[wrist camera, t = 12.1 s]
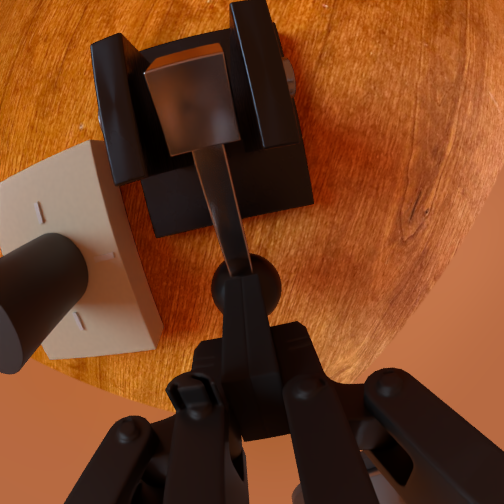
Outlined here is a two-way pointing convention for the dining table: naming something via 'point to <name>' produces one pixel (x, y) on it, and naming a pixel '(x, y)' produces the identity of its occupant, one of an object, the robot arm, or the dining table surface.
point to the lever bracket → (239, 152)
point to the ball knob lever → (209, 153)
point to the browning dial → (37, 294)
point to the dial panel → (85, 250)
